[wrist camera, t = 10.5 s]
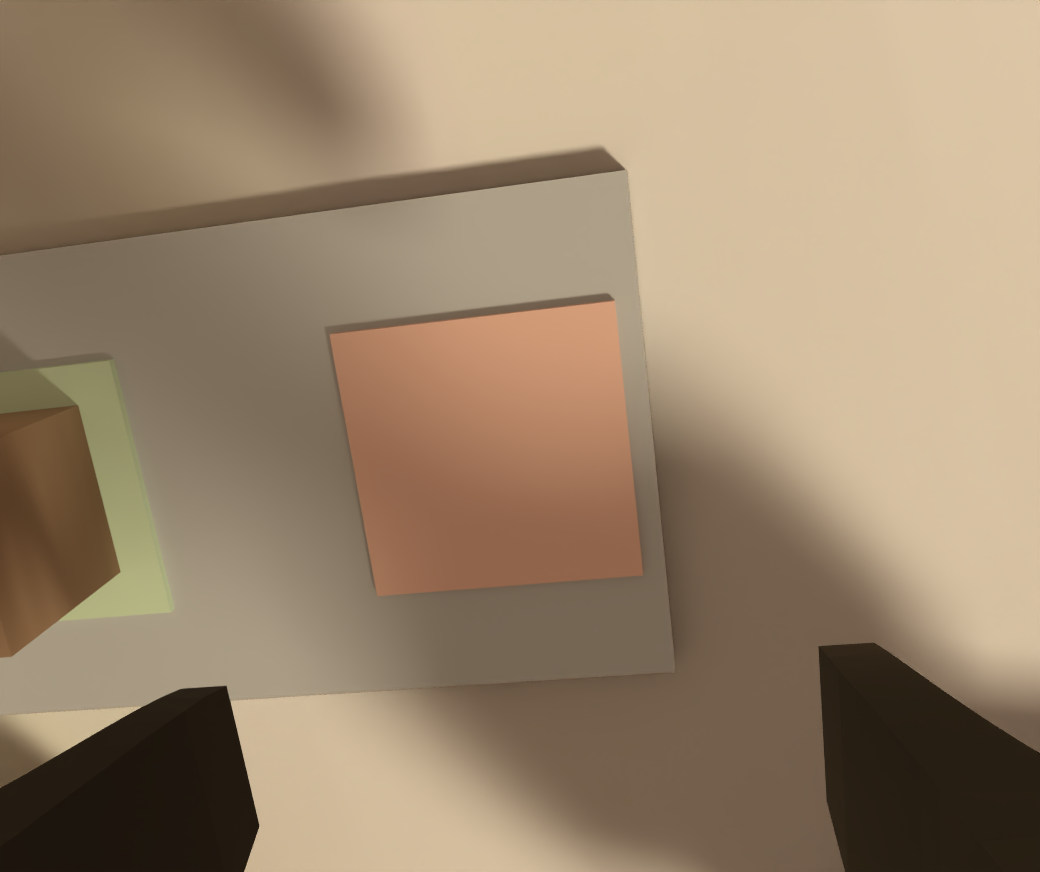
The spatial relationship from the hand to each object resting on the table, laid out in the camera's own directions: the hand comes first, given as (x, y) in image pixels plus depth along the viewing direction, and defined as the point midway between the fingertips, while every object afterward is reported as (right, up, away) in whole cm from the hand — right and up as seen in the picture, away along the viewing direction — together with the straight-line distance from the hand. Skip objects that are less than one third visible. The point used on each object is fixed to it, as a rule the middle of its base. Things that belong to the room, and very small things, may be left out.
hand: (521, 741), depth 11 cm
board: (-6, +3, +10) cm, 12 cm away
